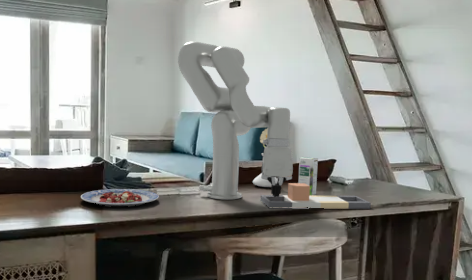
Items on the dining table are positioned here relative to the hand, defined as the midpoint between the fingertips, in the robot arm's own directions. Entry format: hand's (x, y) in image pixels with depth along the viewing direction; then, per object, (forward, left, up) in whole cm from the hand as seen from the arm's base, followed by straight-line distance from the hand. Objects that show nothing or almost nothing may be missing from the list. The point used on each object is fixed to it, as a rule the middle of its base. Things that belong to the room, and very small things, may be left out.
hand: (275, 196), depth 183 cm
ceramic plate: (-53, +5, -4) cm, 53 cm away
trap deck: (+14, 0, -3) cm, 14 cm away
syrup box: (+17, +19, -3) cm, 25 cm away
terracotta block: (+8, 0, -1) cm, 8 cm away
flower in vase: (+5, +36, -3) cm, 36 cm away
